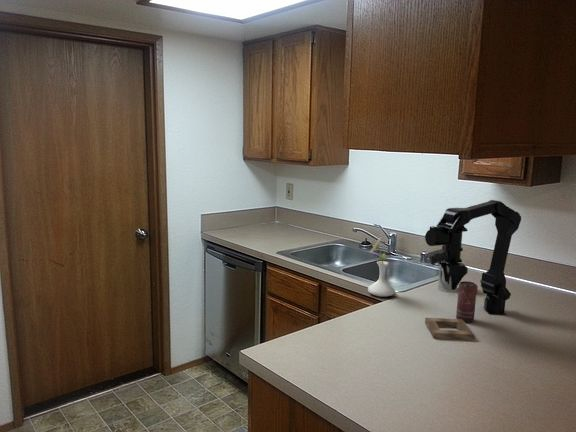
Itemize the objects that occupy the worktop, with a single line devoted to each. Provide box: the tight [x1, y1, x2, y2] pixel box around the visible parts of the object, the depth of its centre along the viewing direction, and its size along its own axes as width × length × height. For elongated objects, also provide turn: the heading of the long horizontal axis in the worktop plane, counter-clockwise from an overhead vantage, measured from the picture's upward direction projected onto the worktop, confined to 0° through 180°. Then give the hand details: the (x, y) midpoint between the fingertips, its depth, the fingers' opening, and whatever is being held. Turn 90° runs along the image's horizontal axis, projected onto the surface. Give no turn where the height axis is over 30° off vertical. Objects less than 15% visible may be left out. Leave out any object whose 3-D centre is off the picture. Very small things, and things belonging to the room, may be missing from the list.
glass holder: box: [436, 264, 458, 293], centre depth 201 cm, size 9×14×15 cm, turn 140°
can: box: [455, 280, 479, 324], centre depth 168 cm, size 6×6×14 cm
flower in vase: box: [367, 237, 396, 297], centre depth 193 cm, size 13×11×25 cm
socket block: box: [424, 317, 475, 341], centre depth 159 cm, size 13×13×2 cm
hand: (449, 285), depth 168 cm, fingers open, 9 cm apart
